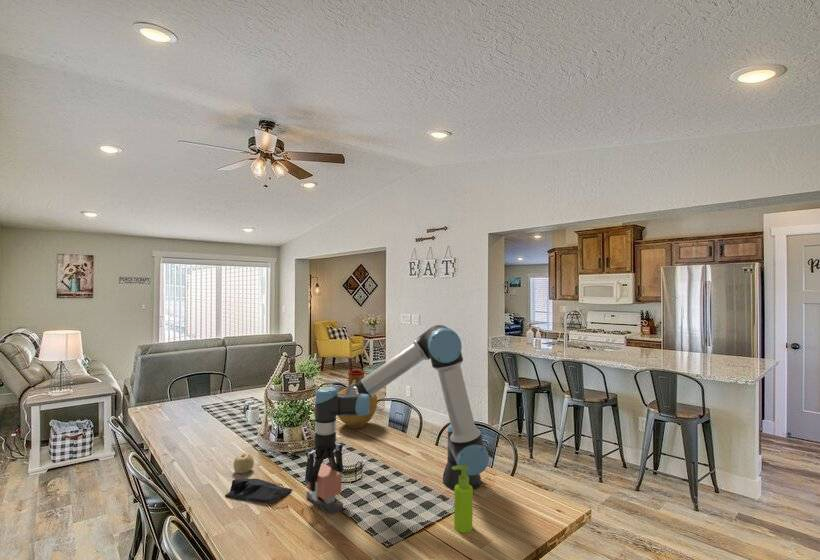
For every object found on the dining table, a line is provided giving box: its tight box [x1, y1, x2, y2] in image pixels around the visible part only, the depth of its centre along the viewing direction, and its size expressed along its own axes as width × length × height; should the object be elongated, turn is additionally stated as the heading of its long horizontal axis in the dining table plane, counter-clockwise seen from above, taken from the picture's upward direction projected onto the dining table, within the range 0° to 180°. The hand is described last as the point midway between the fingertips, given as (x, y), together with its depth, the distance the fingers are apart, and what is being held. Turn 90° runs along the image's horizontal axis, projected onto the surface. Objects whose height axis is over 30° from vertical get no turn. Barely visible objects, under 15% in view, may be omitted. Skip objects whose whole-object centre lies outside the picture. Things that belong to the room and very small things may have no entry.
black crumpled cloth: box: [224, 477, 293, 504], centre depth 163 cm, size 15×22×5 cm
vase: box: [337, 369, 378, 429], centre depth 240 cm, size 24×24×30 cm
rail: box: [306, 489, 344, 515], centre depth 156 cm, size 16×5×2 cm, turn 43°
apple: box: [233, 452, 255, 474], centre depth 181 cm, size 8×8×8 cm
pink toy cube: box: [307, 463, 342, 504], centre depth 156 cm, size 11×7×10 cm, turn 43°
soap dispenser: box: [452, 465, 474, 534], centre depth 141 cm, size 6×7×20 cm
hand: (324, 495), depth 156 cm, fingers closed on pink toy cube, 7 cm apart
